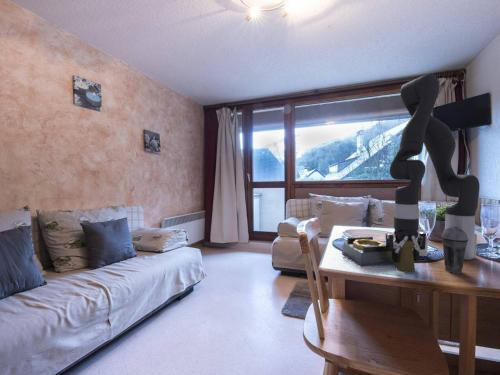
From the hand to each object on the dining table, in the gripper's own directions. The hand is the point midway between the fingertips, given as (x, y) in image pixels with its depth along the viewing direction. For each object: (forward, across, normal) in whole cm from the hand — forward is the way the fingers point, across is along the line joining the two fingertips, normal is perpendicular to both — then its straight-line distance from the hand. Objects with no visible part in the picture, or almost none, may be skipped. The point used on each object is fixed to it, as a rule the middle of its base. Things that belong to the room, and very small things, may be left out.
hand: (405, 261), depth 89 cm
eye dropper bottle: (+3, -16, -13) cm, 21 cm away
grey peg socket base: (+3, +7, -12) cm, 14 cm away
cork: (+3, 0, 0) cm, 3 cm away
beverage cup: (+3, -15, +4) cm, 16 cm away
